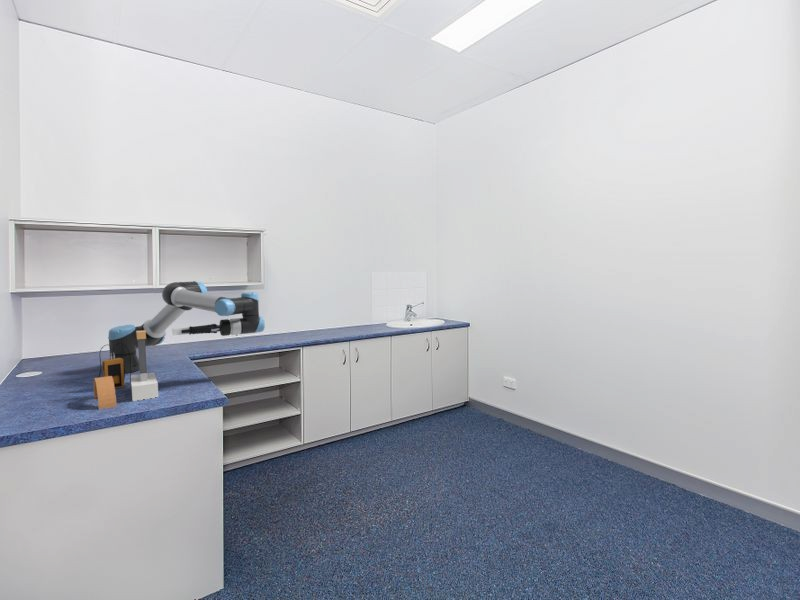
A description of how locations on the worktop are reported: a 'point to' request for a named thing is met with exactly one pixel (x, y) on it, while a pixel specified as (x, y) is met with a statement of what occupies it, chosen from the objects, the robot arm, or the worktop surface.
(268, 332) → the worktop surface
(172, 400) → the worktop surface
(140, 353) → the lever
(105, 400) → the arch
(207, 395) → the worktop surface
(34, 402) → the worktop surface
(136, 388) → the white rectangular slab
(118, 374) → the multimeter
